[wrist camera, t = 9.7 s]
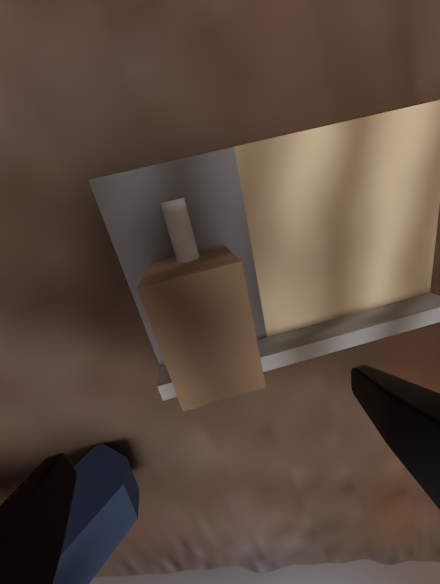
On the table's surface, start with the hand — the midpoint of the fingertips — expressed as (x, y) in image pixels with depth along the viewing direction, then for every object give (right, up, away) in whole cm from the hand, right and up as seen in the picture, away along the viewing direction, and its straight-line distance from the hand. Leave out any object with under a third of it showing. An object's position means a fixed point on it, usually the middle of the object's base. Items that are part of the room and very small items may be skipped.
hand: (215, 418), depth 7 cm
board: (+5, +7, +10) cm, 13 cm away
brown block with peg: (-1, +4, +8) cm, 9 cm away
